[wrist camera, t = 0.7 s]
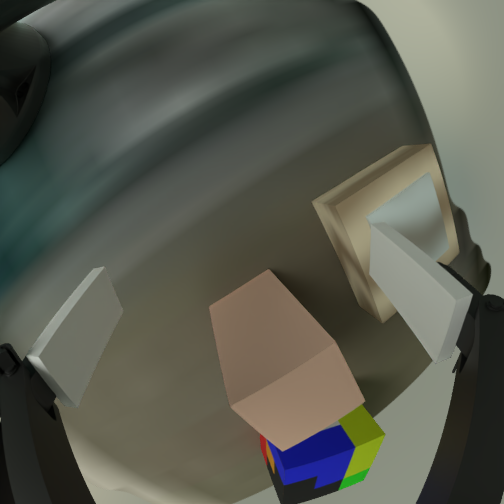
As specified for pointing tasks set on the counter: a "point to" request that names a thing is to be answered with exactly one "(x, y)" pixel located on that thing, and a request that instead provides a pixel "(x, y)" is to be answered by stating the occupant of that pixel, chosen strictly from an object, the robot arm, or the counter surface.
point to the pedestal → (388, 217)
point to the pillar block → (280, 363)
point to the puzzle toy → (324, 458)
